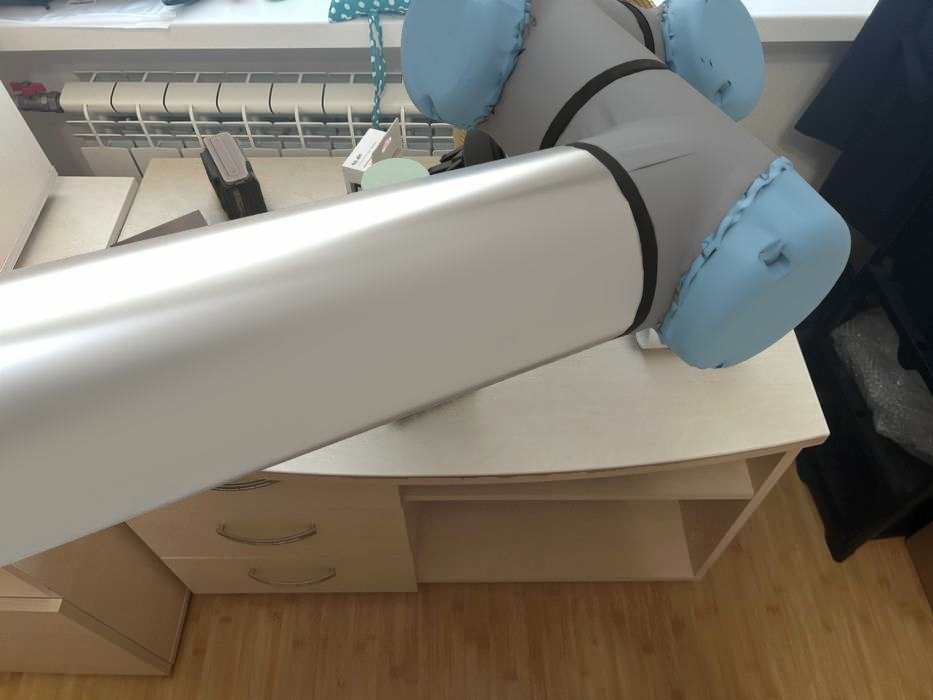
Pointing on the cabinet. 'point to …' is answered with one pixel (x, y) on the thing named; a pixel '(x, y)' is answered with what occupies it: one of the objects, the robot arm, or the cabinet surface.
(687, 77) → the robot arm
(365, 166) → the ink box
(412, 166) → the sage canister
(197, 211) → the walnut block
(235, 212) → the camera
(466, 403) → the cabinet surface
